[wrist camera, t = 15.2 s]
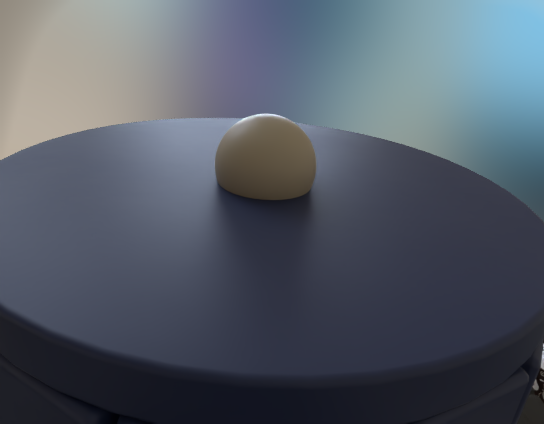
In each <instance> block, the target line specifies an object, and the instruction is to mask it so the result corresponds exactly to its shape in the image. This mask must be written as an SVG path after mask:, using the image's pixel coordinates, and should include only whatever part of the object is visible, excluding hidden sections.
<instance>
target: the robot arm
mask: <svg viewBox="0 0 544 424" xmlns="http://www.w3.org/2000/svg"><path fill="white" fill-rule="evenodd" d="M517 424H544V403H543V402H542V400H541V399H540V397H539V396H538V395H535V390H534V388H533V387H532V389H531V392H530V394H529V396H528V399H527V401H526V403H525V406H524V408H523V411H522V413H521V415H520V418H519V420H518V422H517Z"/></svg>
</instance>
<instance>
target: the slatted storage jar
mask: <svg viewBox="0 0 544 424" xmlns="http://www.w3.org/2000/svg"><path fill="white" fill-rule="evenodd" d="M543 340H544V222H543V221H542V220H541V219H540V218H539V217H538V216H537V215H536V214H535V213H534V212H533V211H532V210H531V209H530V208H529V207H528V206H527V205H526V204H524V203H523V202H522V201H520V200H519V199H518V198H516V197H515V196H514V195H512V194H511V193H510V192H508V191H507V190H505V189H503V188H501V187H500V186H499V185H497V184H495V183H494V182H492V181H490V180H489V179H487V178H485V177H483V176H481V175H479V174H477V173H475V172H473V171H471V170H469V169H467V168H465V167H462V166H460V165H458V164H455V163H453V162H451V161H449V160H446V159H443V158H441V157H438V156H435V155H433V154H430V153H427V152H425V151H421V150H418V149H415V148H412V147H409V146H406V145H403V144H399V143H395V142H392V141H388V140H384V139H381V138H376V137H372V136H367V135H364V134H359V133H354V132H349V131H344V130H339V129H333V128H327V127H321V126H314V125H307V124H299V123H294V122H292V121H290V120H289V119H287V118H284V117H281V116H278V115H274V114H258V115H253V116H250V117H247V118H244V119H237V118H236V119H235V118H184V119H165V120H153V121H142V122H133V123H126V124H118V125H111V126H106V127H100V128H96V129H90V130H86V131H81V132H77V133H73V134H69V135H65V136H62V137H58V138H55V139H52V140H49V141H45V142H42V143H39V144H37V145H34V146H31V147H29V148H26V149H24V150H21V151H19V152H17V153H15V154H13V155H10V156H8V157H6V158H4V159H2V160H0V424H517V422H518V420H519V418H520V415H521V413H522V411H523V408H524V406H525V403H526V401H527V399H528V396H529V394H530V392H531V389H532V387H533V384H534V382H535V380H536V377H537V375H538V373H539V370H540V368H541V360H542V350H543Z"/></svg>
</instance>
